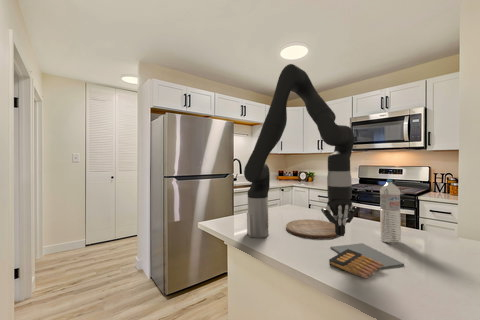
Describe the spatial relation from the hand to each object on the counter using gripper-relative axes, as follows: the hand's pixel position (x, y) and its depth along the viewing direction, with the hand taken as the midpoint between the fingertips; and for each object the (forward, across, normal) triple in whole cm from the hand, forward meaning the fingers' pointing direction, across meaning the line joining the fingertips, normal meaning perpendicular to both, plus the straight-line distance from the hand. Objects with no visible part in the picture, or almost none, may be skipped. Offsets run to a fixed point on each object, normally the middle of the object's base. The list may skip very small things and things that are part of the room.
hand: (340, 235), depth 77 cm
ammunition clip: (+7, -1, -1) cm, 7 cm away
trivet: (+9, +7, +31) cm, 33 cm away
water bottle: (+8, +29, +10) cm, 32 cm away
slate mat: (+8, +9, 0) cm, 12 cm away
